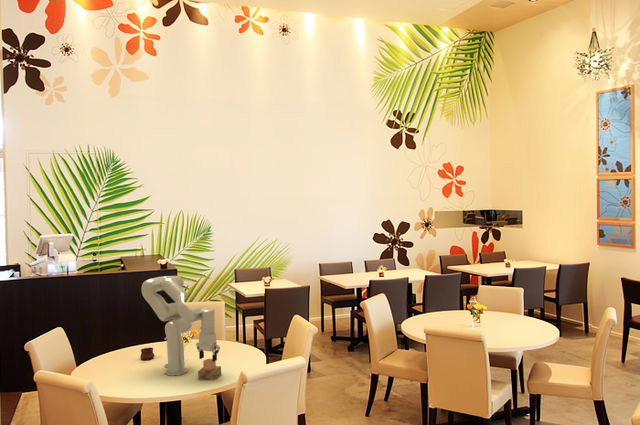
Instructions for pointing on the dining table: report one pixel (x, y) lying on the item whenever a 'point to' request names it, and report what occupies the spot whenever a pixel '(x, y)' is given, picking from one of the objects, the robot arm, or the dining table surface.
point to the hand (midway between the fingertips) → (208, 359)
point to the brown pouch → (147, 354)
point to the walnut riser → (209, 374)
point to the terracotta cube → (209, 364)
